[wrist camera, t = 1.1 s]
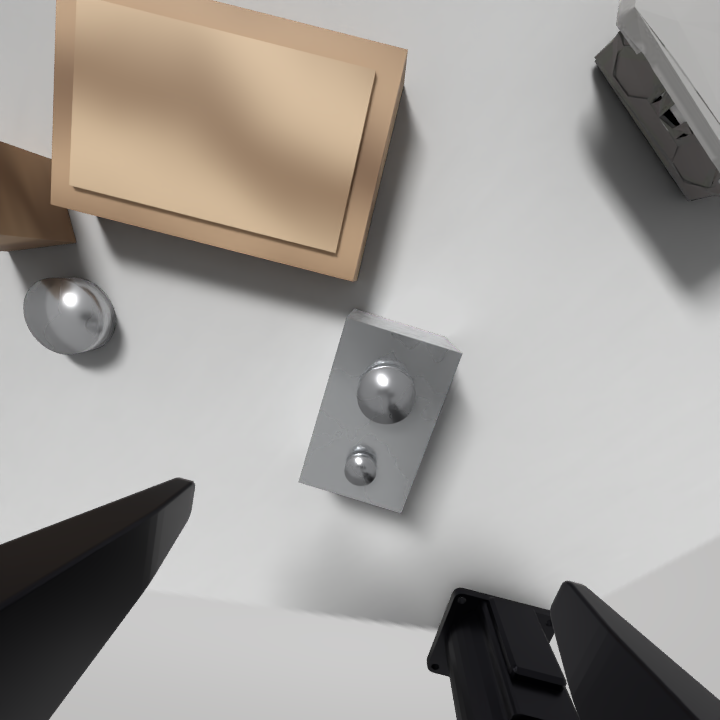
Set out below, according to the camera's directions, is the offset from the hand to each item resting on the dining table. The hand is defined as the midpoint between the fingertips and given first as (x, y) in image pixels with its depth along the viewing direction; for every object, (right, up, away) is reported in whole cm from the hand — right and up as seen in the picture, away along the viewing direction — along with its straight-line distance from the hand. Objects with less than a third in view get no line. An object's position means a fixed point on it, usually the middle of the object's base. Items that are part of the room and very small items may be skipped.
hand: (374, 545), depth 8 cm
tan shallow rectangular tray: (-6, +14, +9) cm, 18 cm away
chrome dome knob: (-16, +7, +12) cm, 21 cm away
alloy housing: (+1, +3, +11) cm, 12 cm away
